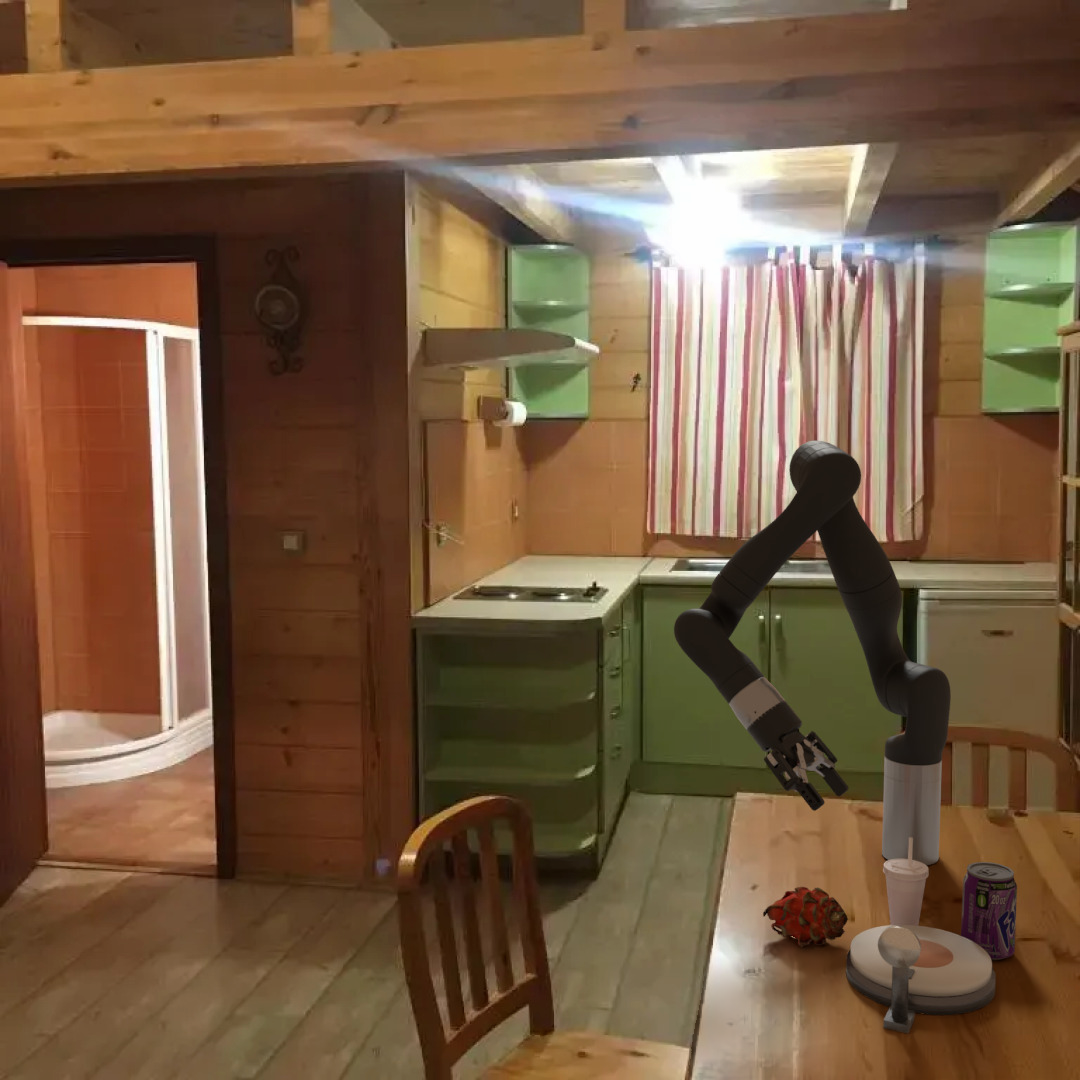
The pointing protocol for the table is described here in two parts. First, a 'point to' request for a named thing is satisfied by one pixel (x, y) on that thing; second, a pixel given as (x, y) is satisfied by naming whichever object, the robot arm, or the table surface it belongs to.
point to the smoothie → (905, 888)
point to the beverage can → (990, 908)
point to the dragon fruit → (807, 916)
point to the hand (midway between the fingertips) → (832, 800)
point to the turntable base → (920, 1002)
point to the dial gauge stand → (899, 973)
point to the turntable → (927, 962)
